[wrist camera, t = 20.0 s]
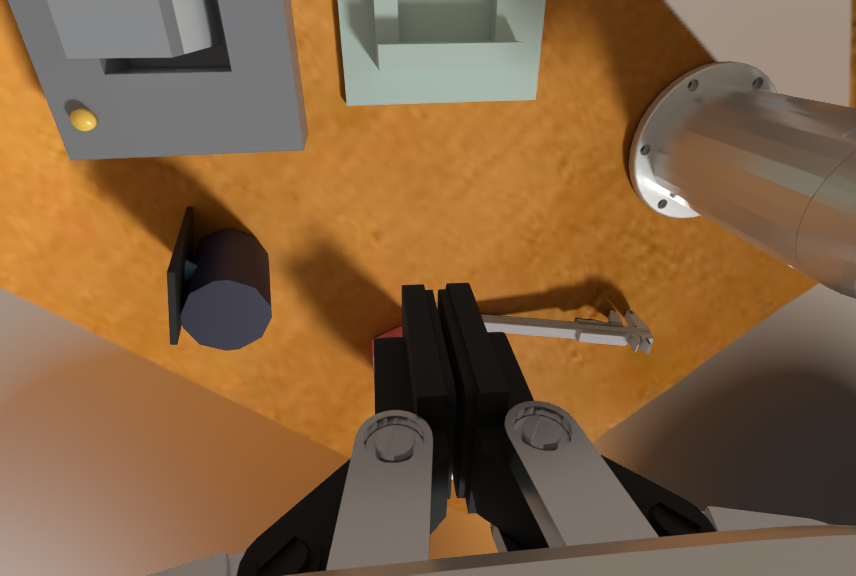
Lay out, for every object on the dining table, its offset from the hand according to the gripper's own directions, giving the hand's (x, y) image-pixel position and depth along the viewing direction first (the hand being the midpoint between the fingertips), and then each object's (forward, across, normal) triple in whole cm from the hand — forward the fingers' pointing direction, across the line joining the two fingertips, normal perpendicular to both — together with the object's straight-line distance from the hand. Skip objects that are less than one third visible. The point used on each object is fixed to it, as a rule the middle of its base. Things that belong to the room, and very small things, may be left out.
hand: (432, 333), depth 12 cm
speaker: (+27, +13, +10) cm, 31 cm away
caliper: (+28, -14, +18) cm, 36 cm away
